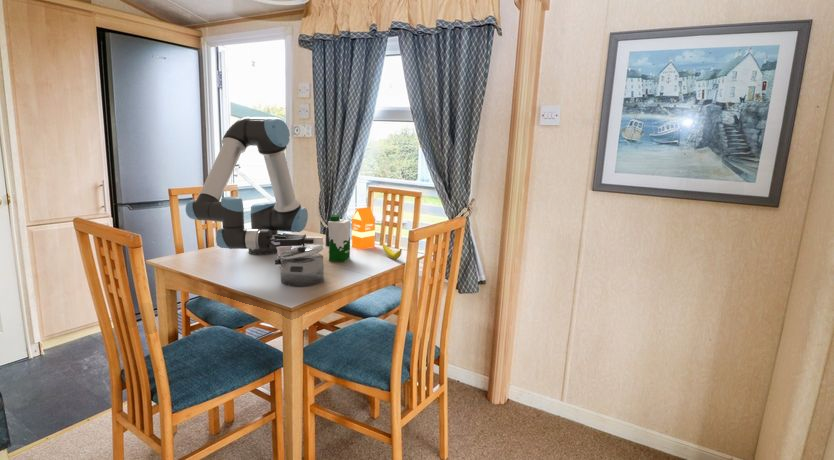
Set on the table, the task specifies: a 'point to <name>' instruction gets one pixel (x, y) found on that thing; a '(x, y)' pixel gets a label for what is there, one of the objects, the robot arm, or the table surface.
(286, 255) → the lid
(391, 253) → the banana
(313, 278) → the cooker
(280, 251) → the smoothie
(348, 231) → the milk carton
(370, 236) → the orange juice
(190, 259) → the table surface
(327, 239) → the supplement bottle
